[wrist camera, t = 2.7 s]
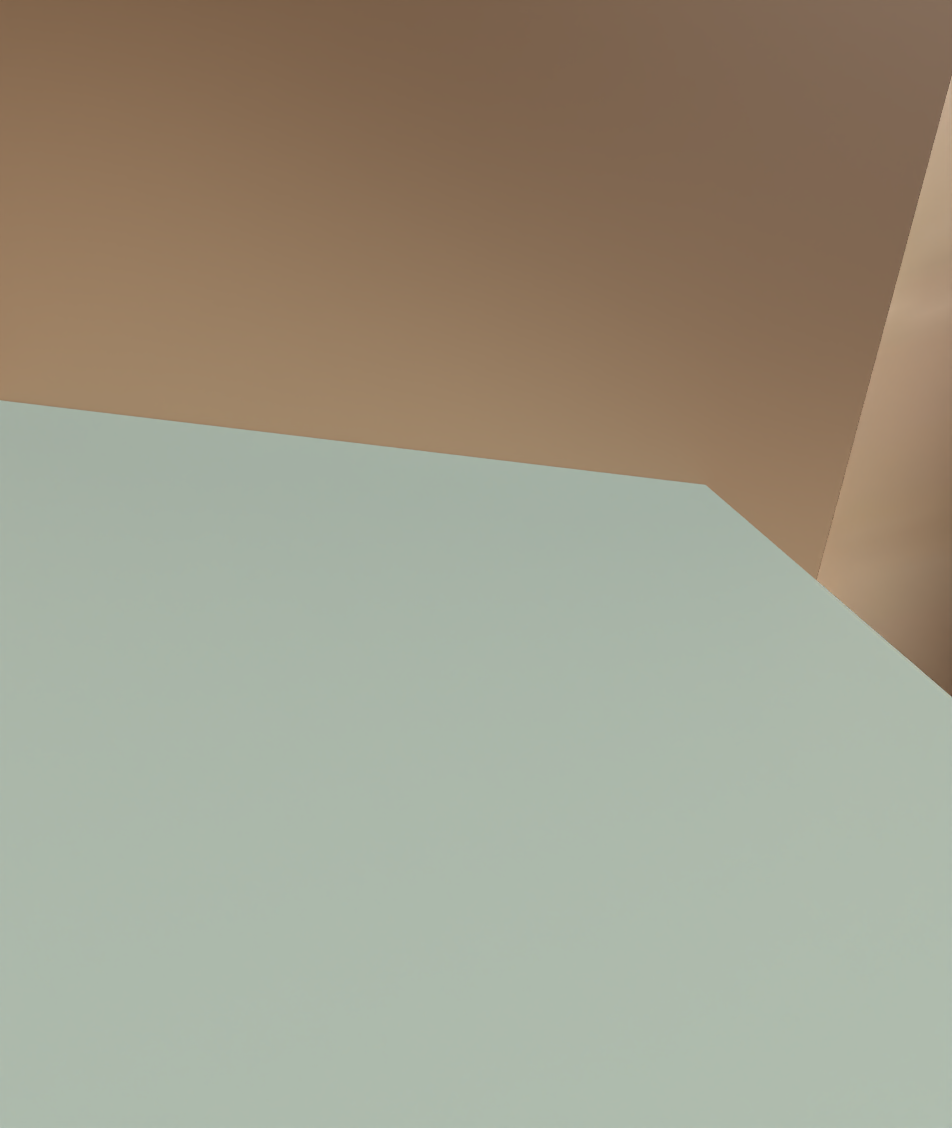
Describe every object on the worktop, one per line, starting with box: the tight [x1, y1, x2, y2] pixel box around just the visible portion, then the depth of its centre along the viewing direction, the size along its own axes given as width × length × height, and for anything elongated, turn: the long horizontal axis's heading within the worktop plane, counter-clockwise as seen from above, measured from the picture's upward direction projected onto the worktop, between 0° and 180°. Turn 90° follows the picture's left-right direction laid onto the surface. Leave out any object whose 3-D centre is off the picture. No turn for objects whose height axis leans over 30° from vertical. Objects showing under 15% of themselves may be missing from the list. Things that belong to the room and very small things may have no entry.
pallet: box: [0, 0, 952, 580], centre depth 8 cm, size 16×6×4 cm, turn 173°
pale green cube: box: [0, 400, 952, 1128], centre depth 3 cm, size 4×4×4 cm
